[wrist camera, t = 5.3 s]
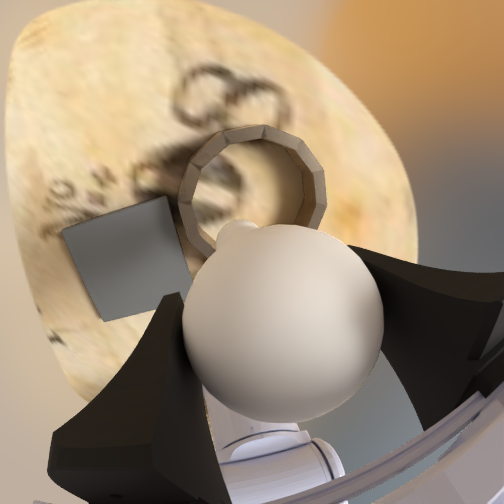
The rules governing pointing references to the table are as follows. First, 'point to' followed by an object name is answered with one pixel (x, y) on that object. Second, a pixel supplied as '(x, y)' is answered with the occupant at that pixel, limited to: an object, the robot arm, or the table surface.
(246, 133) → the collar
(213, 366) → the lightbulb
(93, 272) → the mat
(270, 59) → the table surface
